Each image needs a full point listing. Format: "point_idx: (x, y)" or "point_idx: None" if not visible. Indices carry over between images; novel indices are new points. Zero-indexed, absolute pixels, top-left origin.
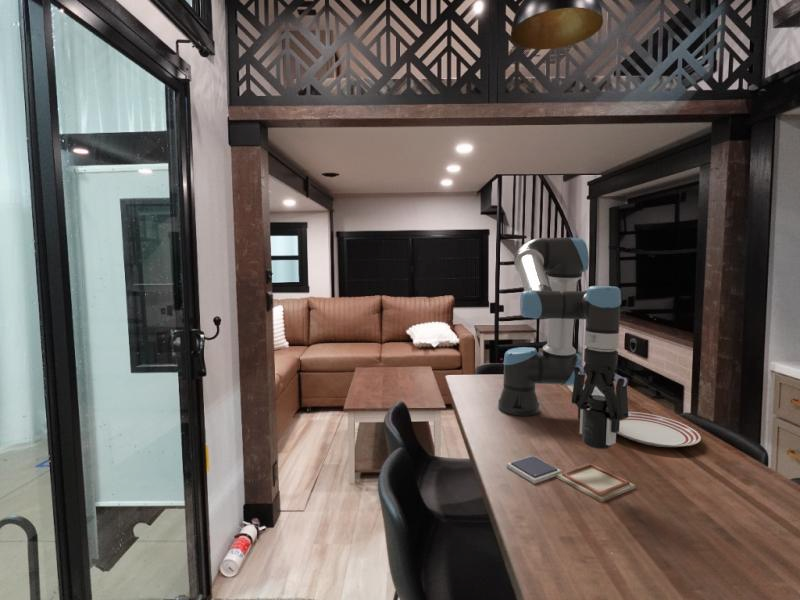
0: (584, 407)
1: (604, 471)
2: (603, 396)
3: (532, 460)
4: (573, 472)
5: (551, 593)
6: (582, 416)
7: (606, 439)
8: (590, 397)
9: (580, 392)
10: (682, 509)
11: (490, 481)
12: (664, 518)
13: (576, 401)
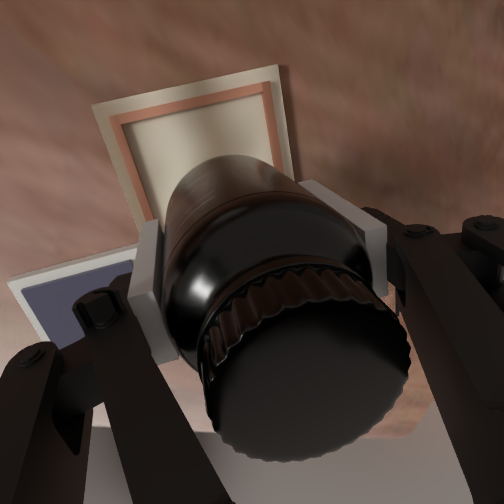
0: (142, 334)
1: (180, 110)
2: (295, 320)
3: (59, 308)
4: (153, 216)
5: (423, 415)
6: None
7: None
8: (280, 456)
9: (53, 456)
10: (409, 24)
11: None
12: (407, 123)
13: (86, 405)
